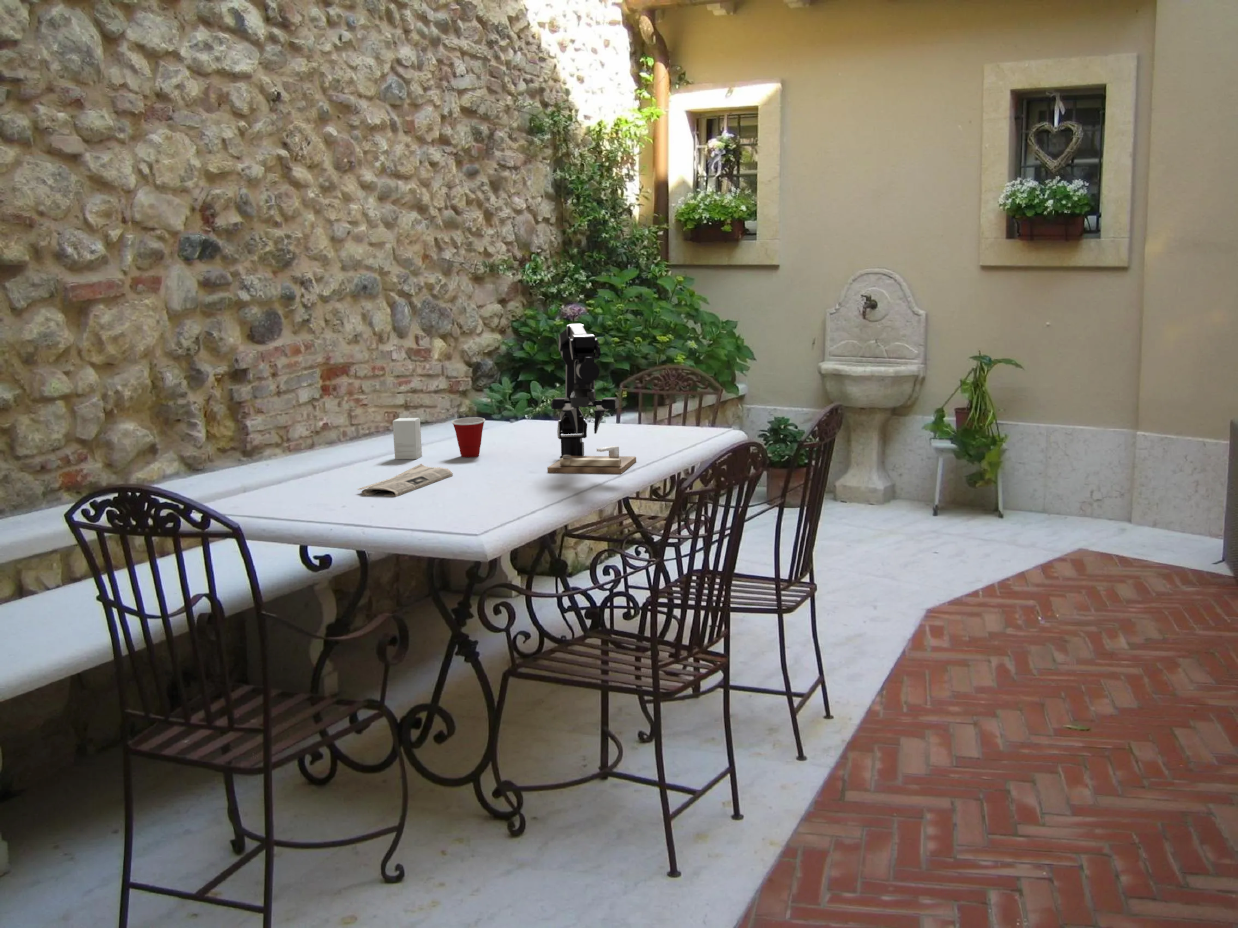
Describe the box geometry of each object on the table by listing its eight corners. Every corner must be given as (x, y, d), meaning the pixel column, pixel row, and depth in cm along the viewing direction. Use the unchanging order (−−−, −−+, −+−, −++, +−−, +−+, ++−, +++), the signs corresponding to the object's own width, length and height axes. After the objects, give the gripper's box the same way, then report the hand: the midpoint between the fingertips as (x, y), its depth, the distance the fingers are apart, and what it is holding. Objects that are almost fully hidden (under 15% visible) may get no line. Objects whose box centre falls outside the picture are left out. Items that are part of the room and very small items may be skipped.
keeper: (601, 460, 356) (601, 449, 355) (596, 459, 357) (596, 448, 357) (619, 457, 361) (618, 446, 360) (613, 456, 363) (613, 445, 362)
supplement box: (422, 456, 383) (420, 417, 381) (416, 459, 375) (414, 420, 373) (400, 456, 383) (398, 417, 381) (394, 459, 376) (392, 420, 374)
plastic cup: (447, 458, 377) (445, 421, 375) (461, 453, 387) (459, 417, 385) (478, 459, 374) (477, 421, 372) (491, 454, 384) (490, 417, 382)
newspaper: (396, 498, 311) (395, 485, 310) (354, 496, 315) (353, 483, 314) (455, 476, 344) (454, 464, 343) (416, 475, 348) (416, 463, 347)
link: (558, 465, 345) (558, 456, 345) (562, 463, 349) (561, 454, 349) (618, 466, 342) (618, 457, 341) (621, 464, 346) (621, 454, 345)
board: (547, 472, 345) (547, 467, 345) (566, 460, 367) (566, 455, 367) (621, 473, 340) (621, 468, 340) (636, 461, 363) (636, 456, 362)
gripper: (545, 381, 329) (547, 436, 332) (610, 381, 325) (611, 437, 328) (555, 378, 340) (557, 431, 342) (618, 378, 336) (619, 432, 339)
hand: (585, 433), depth 337 cm, fingers open, 5 cm apart
